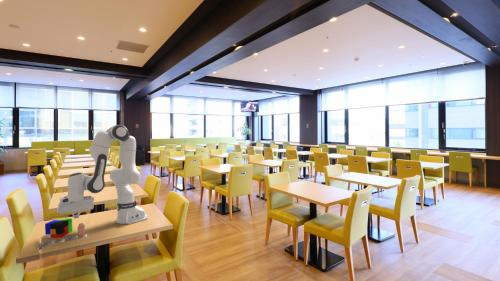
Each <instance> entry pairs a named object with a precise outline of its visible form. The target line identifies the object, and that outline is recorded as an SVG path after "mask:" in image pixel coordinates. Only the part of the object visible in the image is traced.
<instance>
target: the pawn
mask: <svg viewBox="0 0 500 281" xmlns="http://www.w3.org/2000/svg"><path fill="white" fill-rule="evenodd" d="M85 234H86V226H85V223H82V222H81V223H79V224H78V225H77V235H78V237H83V238H85V237H84V236H85Z"/></svg>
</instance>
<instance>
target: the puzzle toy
mask: <svg viewBox="0 0 500 281" xmlns="http://www.w3.org/2000/svg"><path fill="white" fill-rule="evenodd" d="M44 233H45V239H46V238H47V239H48V238H50V239H51V238H52V239H63V238H64V237H65V236H68V235H69V234H71V233H73V218H66V217H65V218H64V217H63V218H62V217H60V218H59V217H57V218H55V219H52V220H50V221H48V222H46V223H45V224H44Z"/></svg>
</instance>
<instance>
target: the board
mask: <svg viewBox="0 0 500 281" xmlns="http://www.w3.org/2000/svg"><path fill="white" fill-rule="evenodd" d="M86 237H87V238H88V234H87V233H85V236H84V237H78V234H77V235H74V236H69V237H65V238H58V239H56V240H51V241H45V242H40V243H38V244H37V245H38V249H37V250H38V251H41V250H42V249H43V247H47V246H51V245H56V244H61V243H64V242H68V241H73V240H78V239H83V238H86Z"/></svg>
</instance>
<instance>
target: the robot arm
mask: <svg viewBox="0 0 500 281" xmlns="http://www.w3.org/2000/svg"><path fill="white" fill-rule="evenodd" d="M95 134H96V135H94V138H93V141H92V143H91V146H90V157H92V158H93V161H94V162H95V165H94V170H93V175H87V174H85V173H84V172H79V171H78V172H75V173H71V174H70V175H69V176H68V179H67V190H68V192H67V195H64V196H62V197H60V198H59V202H58V204H57V209H56V210H57V211H56V213H57V214H58V215H63V214H70V213H71V215H72V217H73V218H72V219H74V220H76V219H79V218H80V215H81V213H82V212H84V211H89V210H93V209H94V208H95V207H94V206H95V205H94V201H95V197H94V196H92V195H86V196H85V191H88V192H90V193H91V194H99V193H100V192H102V191H103V190H104V189H105V185H106V183H105V174H106V173H105V172H106V170H107V161H108V155H109V150H110V148H111V146H110V145H111V144H112V142H113V141H118V142H119V145H120V146H119V154H118V161H119V163H120V164H121V166H122V168H121V167H120V168H114V169H112V170H111V171H110V173H109V179H110V180H111V181H112V183H113V185H114V187H115V189H116V194H117V195H116V196H117V203H116V210H117V213H116V214H117V215H116V220H115V223H116V224H119V225H120V224H121V225H123V224H124V225H131V224H134V223H138V222H142V221H145V220H148V219H149V214H147V213H146V211H145V209H144V208H142V207H141V206H139V201H136V200H135V190H134V189H133V188H132V187H131V185H136V184H138V183H139V182H140V181H141V179H142V175H141V172H140V171H139V170H138V168H137V165H136V153H137V140H136V138H135V137H134V136H132V135H131V133H130V132H129V130H128V128H127V127H126V126H125V125H123V124H114V125H113V126H110V127H109V128H108V129H107V130H106V131H104V130H100V131H98V132H96V133H95ZM75 213H77V214H75Z"/></svg>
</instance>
